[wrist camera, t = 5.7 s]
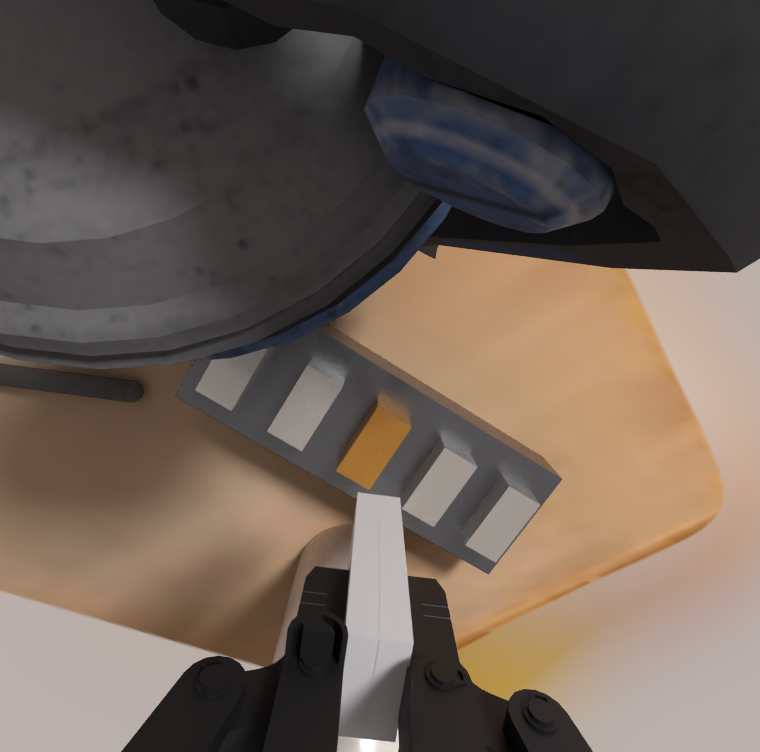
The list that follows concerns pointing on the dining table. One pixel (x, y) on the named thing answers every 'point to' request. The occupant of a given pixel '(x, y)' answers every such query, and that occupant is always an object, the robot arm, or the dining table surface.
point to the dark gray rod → (70, 383)
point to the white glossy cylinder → (320, 552)
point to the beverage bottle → (350, 156)
